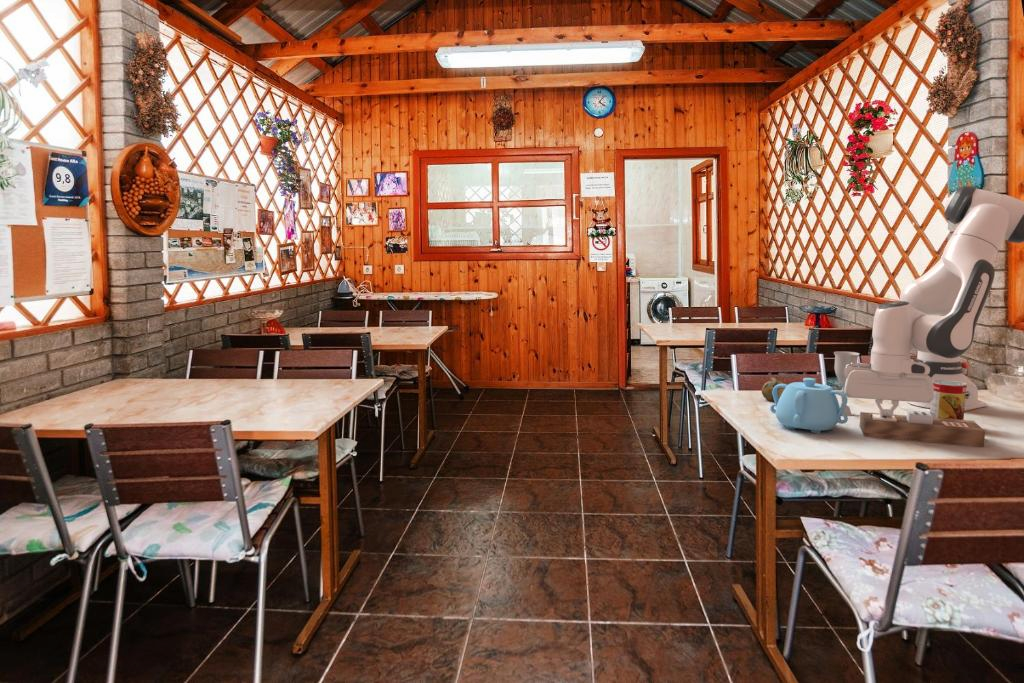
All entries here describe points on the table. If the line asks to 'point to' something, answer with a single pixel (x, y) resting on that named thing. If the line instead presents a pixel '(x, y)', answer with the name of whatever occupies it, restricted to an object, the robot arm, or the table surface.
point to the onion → (769, 387)
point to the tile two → (919, 417)
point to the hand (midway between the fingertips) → (885, 416)
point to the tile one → (883, 418)
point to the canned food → (948, 399)
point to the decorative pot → (809, 406)
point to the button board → (923, 430)
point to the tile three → (954, 424)
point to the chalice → (840, 363)
